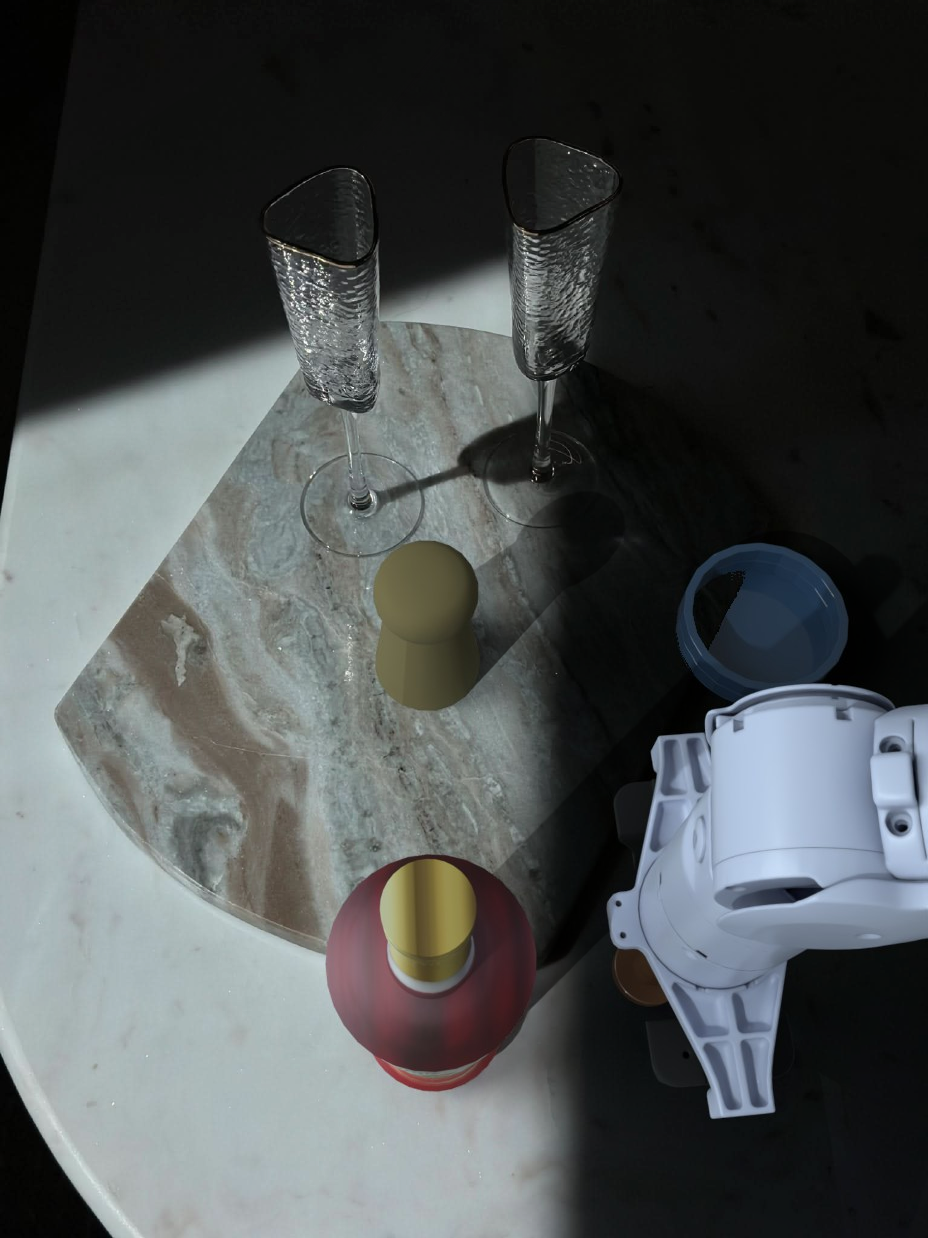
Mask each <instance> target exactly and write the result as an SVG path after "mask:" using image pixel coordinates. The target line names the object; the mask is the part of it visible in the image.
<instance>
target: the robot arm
mask: <svg viewBox="0 0 928 1238" xmlns="http://www.w3.org/2000/svg"><path fill="white" fill-rule="evenodd" d="M704 729H705V731H704V732H693V733H682V734H681V733H679V734H668V735H667V734H666V735H658V737H657V738H656V740H655V742H654V745H653V747H652V749H651V750H650V756H651V761H652V768H653V771H654V772H655V773H656V778H652V779H651V780H648V781H636V782H635V781H634V782H630V783H627V784H625V785H623V786H622V787H621V788H620V789H619V790H617V793H615V796H614V799H613V809H614V810H613V811H614V816H615V823H616V824H615V825H616V831H617V838H618V842H620V843H621V844H623V845H624V846H626V847H627V848H628V849H629V850H630V851H631V853H632V863H633V868H634V873H635V877H636V878H635V883H634V886H633V888H632V889H630V890H627V891H619V892H616V893H613V894H612V895H611V897H610V898H609V899H608V900H607V903H606V914H607V915H606V916H607V921H608V929H609V935H610V939H611V942H612V944H613V945H614V946H615V947H616V948H617V949H618V948H620V949H638V950H640V951H641V952H642V953H643V954H644V955H645V957H646V958H647V960H648V962H649V964H650V966H651V968H652V970H653V972H654V974H655V976H656V978H657V980H658V982H659V984H660V985H661V987H662V989H663V991H664V993H665V995H666V997H667V999H668V1003H669V1005H670V1007H671V1009H672V1011H673V1012H674V1014H675V1016H676V1018H670V1019H669V1018H667V1019H657V1020H647V1021H645V1029H646V1036H647V1043H648V1049H649V1056H650V1062H651V1067H652V1070H653V1073H654V1075H655V1077H656V1079H657V1081H658V1082H660V1083H662V1084H664V1085H666V1086H669V1087H672V1088H688V1087H699V1086H709V1089H708V1090H707V1092H706V1098H707V1105H708V1111H709V1116H710V1118H711V1119H713V1120H715V1119H722V1118H735V1117H745V1116H756V1115H764V1114H773V1113H775V1112H776V1106H775V1098H774V1090H773V1079H779V1078H781V1077H784V1076H785V1075H786V1074H788V1072H789V1071H790V1070H791V1068H792V1066H793V1065H794V1062H795V1056H796V1055H795V1053H796V1051H795V1046H794V1040H793V1035H792V1029H791V1025H790V1020H789V1014H788V1012H787V1011H785V1009H783V1010H782V1009H781V1005H782V1000H783V999H782V998H783V991H784V984H785V979H786V978H785V977H786V971H787V964H788V961H789V960H790V959H793V958H794V957H796V956H797V955H799V954H801V953H803V952H805V951H806V950H858V949H859V950H860V949H868V948H869V949H870V948H877V947H883V946H889V945H897V944H903V943H910V942H915V941H919V940H925V939H928V703H924V704H916V705H905V706H900V707H897V708H896V706H895V705H894V703H893V702H892V701H891V700H890V699H888V698H887V697H885V696H884V695H882V694H880V693H877V692H875V691H872V690H870V689H866V688H863V687H856V686H851V685H843V684H837V685H833V684H831V683H820V684H799V685H788V686H781V687H775V688H770V689H766V690H762V691H759V692H756V693H753V694H750V695H748V696H745V697H743V698H742V699H740V700H738V701H737V702H735V703H734V702H733V704H732V705H729V706H726V707H721V708H714V709H711V710H709V711H707V713H706V714H705V719H704ZM621 936H622V937H621Z"/></svg>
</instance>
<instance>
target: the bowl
mask: <svg viewBox="0 0 928 1238" xmlns="http://www.w3.org/2000/svg"><path fill="white" fill-rule="evenodd" d="M736 571H742V572H743V571H745V572H746V573H745V572H744V573H745V575H743V574H742V576H743V577H745V579H744V578H743V584H742V586H741V587H740V590H739V592H737V597H736V598H735V599H734V601H733V603H732V604H731V606H730V609H728V611H727V613H726V615H725V617H724V619H723V621H722V623H721V626H720V625H719V626H720V629H719V632H717V634H716V635H715V638H714V640H713V641H712V644H710V647H709V650H707V648H706V647H705V645H704V643H703V642H702V640H701V638H700V637H699V635H698V633H697V629H696V625H695V621H694V616H693V605H694V597H695V594H696V593H697V592H698V591H699V590H700V589H701V588H702V587H703V586H705V585H706V584H707V583H708V582H709V581H710V580H712V579H714V578H717V577H719V576H721V575H724V574H727V573H728V572H731V574H734V573H732V572H736ZM738 574H740V573H738ZM734 575H736V574H734ZM731 577H733V576H731ZM739 577H740V576H739ZM731 580H733V579H731ZM847 611H848V610H847V608H846V605H845V601H844V598H843V595H842V593H841V592H840V590H839V589H838V587H837V585H836V584H835V583H834V581H833V579H832V578H831V577H830V575H829V574H828V573H827V572H826V571H825V570H823V569H822V568H821V567H820V566H819V565H817V563H815V562H814V561H813V560H812V559H810V557H809V558H808V557H807V556H805V555H803V554H801V553H799V552H797V551H794V550H793V549H790V548H788V547H785V546H782V545H777V544H776V545H775V544H770V543H765V542H753V543H744V544H743V543H742V544H736V545H732V546H731V547H728V548H725V549H723V550H721V551H718V552H716V553H714V554H712V555H711V556H710V557H709V558H708V559H707V560H706V561H704V563H702V564H701V565H700V566H698V567H697V569H696V570H695V572H694V574H693V575H692V577H691V579H690V581H689V584H688V585H687V587H686V589H685V591H684V593H683V596H682V598H681V601H680V603H679V605H678V608H677V614H678V615H676V622H677V623H675V634H676V633H677V635H676V638H677V637H678V640H677V643H678V642H679V645H678V648H679V647H680V648H679V651H681V652H680V654H681V653H682V654H681V656H682V655H683V656H682V658H683V657H684V658H685V660H686V662H687V663H688V665H689V667H690V668H691V670H692V672H693V673H694V674H693V673H692V672H691V673H692V674H693V676H694V677H695V678H696V679H697V680H698V681H699V682H700V683H701V684H702V685H703V686H704V687H705V688H707V689H708V690H710V691H711V692H713V693H714V694H715V695H717V696H719V697H720V698H723V699H724V700H728V701H730V702H732V703H733V704H734V703H735V702H737V701H738V700H740V699H742V698H743V697H745V696H748V695H750V694H753V693H756V692H759V691H762V690H766V689H770V688H775V687H781V686H788V685H799V684H822V682H823V681H825V679H826V678H827V677H828V675H829V674H830V673H831V672H832V670H833V669H835V667H836V665H837V664H838V663H839V661H840V659H841V656H842V655H843V652H844V650H845V648H846V646H847V642H848V638H849V637H848V635H849V633H848V632H849V615H848V612H847ZM684 658H683V659H684ZM685 660H684V661H685ZM686 662H685V663H686ZM689 667H688V668H689ZM691 670H690V671H691Z"/></svg>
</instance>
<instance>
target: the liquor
mask: <svg viewBox="0 0 928 1238" xmlns="http://www.w3.org/2000/svg"><path fill="white" fill-rule="evenodd" d="M529 921H530V920H529V919H528V916H527V913H526V911H525V910H524V909H523V907H522V904H521V903H520V902H519V901H518V898H517V897H516V895H515V894H514V893H513V892H512V891H511V890H510V889H509V888H508V886H507V885H506V884H505V883H504V882H503V881H502V880H501V879H499V878H498V877H497V876H495V875H494V874H493V873H491V872H490V871H489V870H487V869H486V868H485V867H482V866H480V865H479V864H476V863H475V862H472V861H469V860H467V859H464V858H461V857H456V856H453V855H448V854H431V853H430V854H429V853H425V854H420V855H419V854H418V855H412V856H411V855H410V856H407V857H406V856H405V857H403V858H401V859H398V860H394V861H392V862H389V863H387V864H385V865H384V866H382V867H380V868H379V869H377V870H375V871H374V872H372V873H370V874H369V875H368V876H367V877H366V878H365V879H363V880H362V881H361V882H360V883H358V885H356V887H354V889H353V890H352V891H351V893H349V895H348V896H347V898H346V899H345V900H344V902H343V903H342V904H341V907H340V909H339V911H338V912H337V915H336V917H335V919H334V920H333V922H332V925H331V929H330V933H329V937H328V940H327V942H326V943H327V944H326V954H325V974H326V982H327V983H326V984H327V989H328V992H329V995H330V1000H331V1002H332V1006H333V1008H334V1011H335V1012H336V1013H337V1015H338V1017H339V1019H340V1021H341V1022H342V1024H343V1026H344V1027H345V1029H346V1030H347V1031H348V1032H349V1034H350V1035H351V1036H352V1037H353V1038H354V1040H355V1041H356V1042H357V1043H358V1044H359V1045H361V1046H362V1047H363V1048H364V1049H365V1050H366V1051H368V1052H369V1053H370V1054H372V1056H373V1057H374V1060H375V1061H376V1062H377V1063H378V1065H379V1066H380V1067H381V1068H382V1069H383V1071H384V1072H385V1073H386V1074H388V1075H389V1076H390V1077H391V1078H392V1079H394V1080H395V1081H396V1082H398V1083H400V1084H402V1085H404V1086H406V1087H407V1088H410V1089H415V1090H418V1091H422V1092H435V1093H439V1092H444V1091H450V1090H454V1089H456V1088H459V1087H461V1086H464V1085H467V1084H468V1083H469V1082H470V1081H472V1080H474V1079H476V1078H477V1077H478V1076H479V1075H480V1074H481V1073H483V1071H485V1069H486V1068H487V1067H489V1065H490V1063H491V1062H492V1061H493V1059H494V1058H495V1056H496V1055H497V1053H498V1050H499V1047H500V1046H501V1044H502V1043H503V1042H504V1041H505V1040H506V1039H507V1038H508V1037H509V1036H511V1034H512V1033H513V1031H514V1030H515V1028H516V1027H517V1025H518V1023H520V1021H521V1019H522V1018H523V1016H524V1014H525V1012H526V1010H527V1008H528V1005H529V1003H530V1001H531V997H532V995H533V991H534V986H535V981H536V977H537V949H536V943H535V938H534V937H535V936H534V932H533V929H532V927H531V924H530V922H529Z"/></svg>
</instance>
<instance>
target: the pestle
mask: <svg viewBox="0 0 928 1238" xmlns="http://www.w3.org/2000/svg"><path fill="white" fill-rule="evenodd" d="M611 972H612V974H611V975H612V978H613V980H614V983H615V985H616V987H617V990H618V991H619V992H620V993H621V994H622V995H623V997H625V998H626V999H627V1000H628V1001H630V1002H632V1003H634V1004H636V1005H638V1006H641V1007H647V1008H648V1007H649V1008H651V1007H652V1008H653V1007H659V1006H661V1005H665V1004H666V1003H669V1001H668V999H667V997H666V995H665V993H664V991H663V989H662V987H661V985H660V984H659V982H658V980H657V978H656V976H655V974H654V972H653V970H652V968H651V966H650V964H649V962H648V960H647V958H646V957H645V955H644V954H643V953H642V952H641V951H640V950H638V949H620V948H618V947H617V949H616V950H615V953H614V955H613V958H612V961H611Z"/></svg>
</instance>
